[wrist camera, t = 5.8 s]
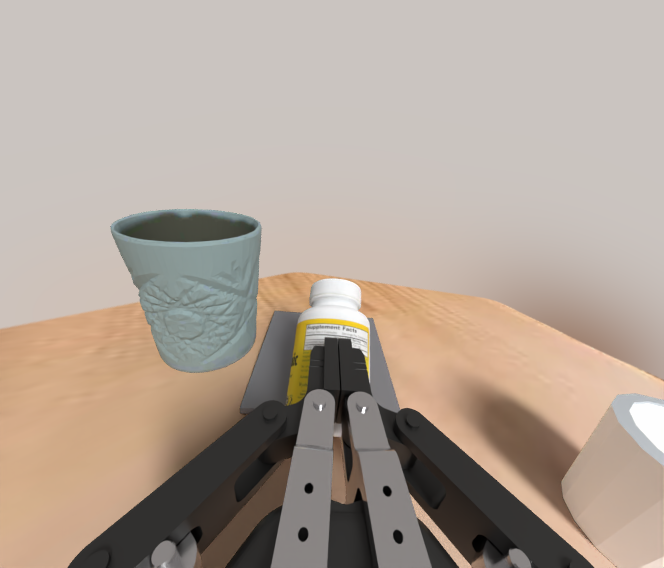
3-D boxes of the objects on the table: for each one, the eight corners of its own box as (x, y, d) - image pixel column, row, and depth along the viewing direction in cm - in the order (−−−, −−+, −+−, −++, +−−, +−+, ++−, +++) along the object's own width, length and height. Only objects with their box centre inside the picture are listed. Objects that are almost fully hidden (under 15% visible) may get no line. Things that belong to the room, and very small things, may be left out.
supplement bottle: (298, 425, 18) (314, 303, 22) (372, 434, 17) (373, 302, 21) (265, 430, 13) (293, 274, 18) (364, 442, 12) (367, 271, 16)
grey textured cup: (231, 304, 31) (221, 206, 25) (285, 342, 25) (287, 227, 20) (133, 342, 23) (91, 213, 18) (181, 406, 18) (141, 251, 13)
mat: (400, 421, 18) (401, 416, 18) (240, 413, 18) (239, 407, 17) (371, 322, 30) (372, 318, 30) (274, 314, 29) (274, 310, 29)
